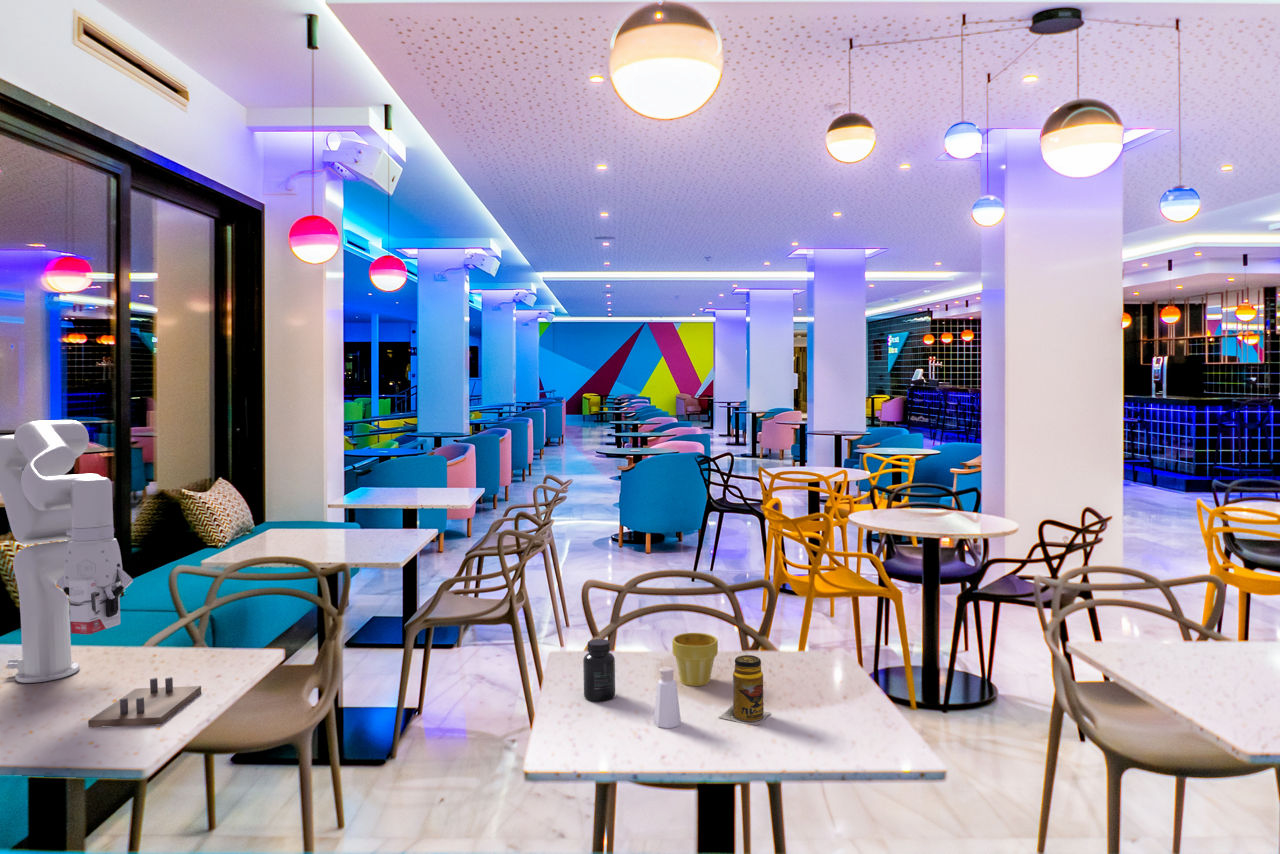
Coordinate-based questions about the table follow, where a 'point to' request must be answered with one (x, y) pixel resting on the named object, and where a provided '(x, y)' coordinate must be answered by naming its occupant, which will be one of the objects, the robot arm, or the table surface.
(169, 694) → the pin dock
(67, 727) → the table surface
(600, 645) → the supplement bottle
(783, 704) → the table surface
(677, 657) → the plant pot
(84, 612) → the ink box
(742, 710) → the condiment
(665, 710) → the salt shaker
